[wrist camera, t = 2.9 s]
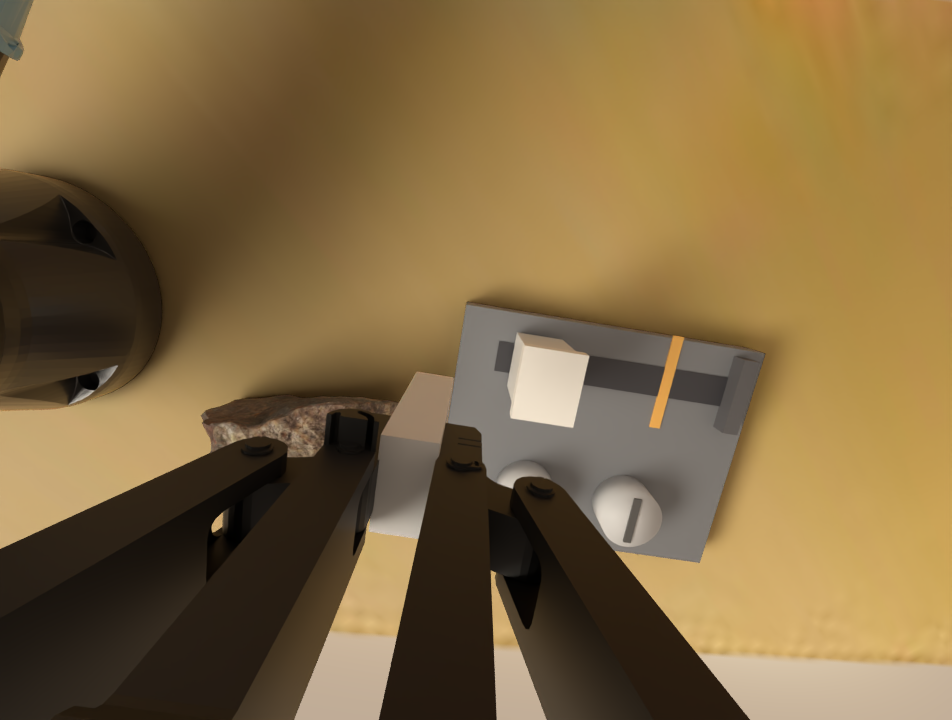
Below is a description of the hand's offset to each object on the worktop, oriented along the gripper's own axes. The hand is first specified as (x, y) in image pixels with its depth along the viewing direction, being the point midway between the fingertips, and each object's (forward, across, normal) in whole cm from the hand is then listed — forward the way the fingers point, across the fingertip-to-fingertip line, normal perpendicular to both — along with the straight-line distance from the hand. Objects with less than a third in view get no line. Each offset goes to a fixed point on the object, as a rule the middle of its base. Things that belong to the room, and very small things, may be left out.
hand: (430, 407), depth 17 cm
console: (+14, +11, -5) cm, 18 cm away
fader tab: (+11, +6, 0) cm, 13 cm away
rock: (+14, -9, -8) cm, 19 cm away
